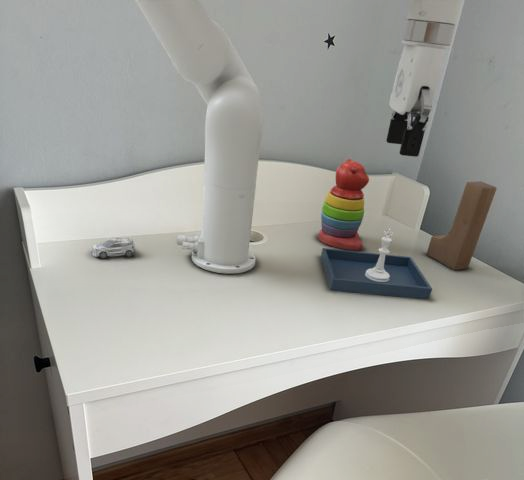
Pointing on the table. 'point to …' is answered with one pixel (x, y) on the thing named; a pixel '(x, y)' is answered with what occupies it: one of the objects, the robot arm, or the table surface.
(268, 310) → the table surface
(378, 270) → the chess piece
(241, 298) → the table surface
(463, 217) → the wooden block
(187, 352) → the table surface
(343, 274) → the tray
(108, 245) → the toy car
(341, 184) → the stacking bear
